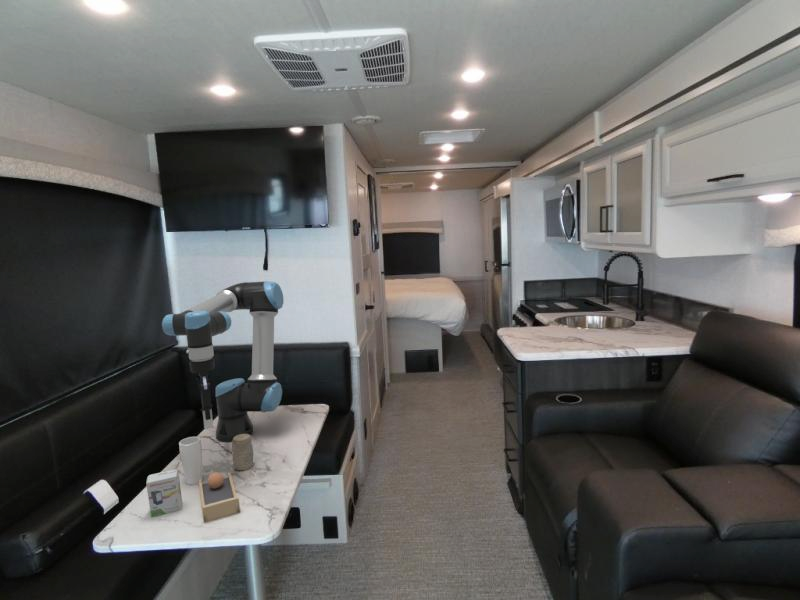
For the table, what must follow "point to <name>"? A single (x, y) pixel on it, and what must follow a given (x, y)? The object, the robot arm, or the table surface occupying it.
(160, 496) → the ink box
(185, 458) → the drinking glass
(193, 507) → the table surface
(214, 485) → the ball
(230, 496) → the lane
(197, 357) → the robot arm
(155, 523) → the table surface
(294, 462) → the table surface
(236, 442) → the carving
